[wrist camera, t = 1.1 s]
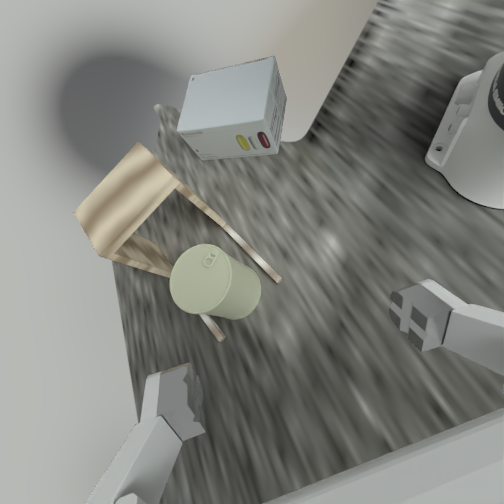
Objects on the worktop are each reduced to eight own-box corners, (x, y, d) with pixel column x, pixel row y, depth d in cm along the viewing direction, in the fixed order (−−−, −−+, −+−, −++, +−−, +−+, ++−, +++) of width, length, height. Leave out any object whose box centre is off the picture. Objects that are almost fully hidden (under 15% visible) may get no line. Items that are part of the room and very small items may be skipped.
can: (272, 281, 42) (244, 262, 31) (241, 331, 41) (202, 329, 30) (229, 255, 46) (192, 230, 35) (201, 300, 45) (154, 289, 34)
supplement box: (201, 162, 55) (174, 131, 46) (213, 111, 58) (189, 73, 50) (278, 155, 48) (263, 118, 40) (287, 98, 52) (274, 52, 43)
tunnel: (283, 279, 41) (244, 248, 26) (222, 341, 42) (150, 345, 27) (199, 196, 52) (138, 141, 37) (151, 246, 53) (73, 212, 38)
